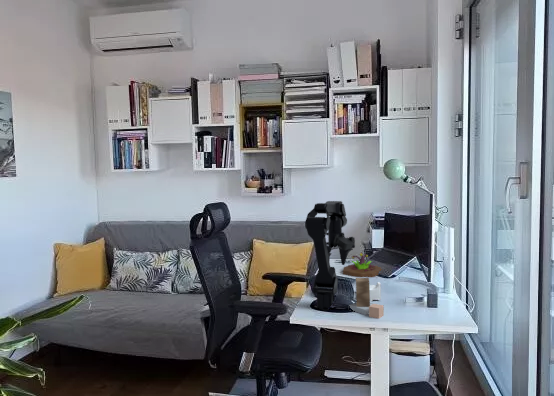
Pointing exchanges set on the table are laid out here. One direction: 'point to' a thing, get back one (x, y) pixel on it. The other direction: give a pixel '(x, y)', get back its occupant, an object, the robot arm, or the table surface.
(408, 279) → the table surface
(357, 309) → the grey base block
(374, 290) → the bracket
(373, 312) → the terracotta cube
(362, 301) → the walnut pillar
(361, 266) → the plant
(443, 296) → the table surface
